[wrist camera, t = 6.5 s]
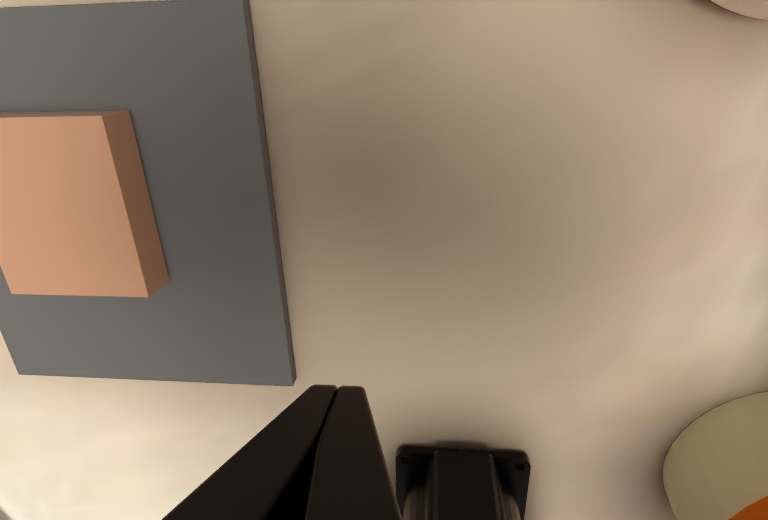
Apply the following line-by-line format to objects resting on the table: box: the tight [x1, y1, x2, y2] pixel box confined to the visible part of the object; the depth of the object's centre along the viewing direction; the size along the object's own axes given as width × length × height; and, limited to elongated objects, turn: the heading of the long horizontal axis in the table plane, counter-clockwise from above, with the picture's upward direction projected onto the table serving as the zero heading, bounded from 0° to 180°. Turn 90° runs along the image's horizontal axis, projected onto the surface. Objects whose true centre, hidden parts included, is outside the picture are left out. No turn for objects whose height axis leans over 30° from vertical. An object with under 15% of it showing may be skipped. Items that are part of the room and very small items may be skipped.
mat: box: [0, 0, 296, 386], centre depth 20 cm, size 16×14×1 cm
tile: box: [0, 110, 169, 297], centre depth 19 cm, size 7×2×6 cm
